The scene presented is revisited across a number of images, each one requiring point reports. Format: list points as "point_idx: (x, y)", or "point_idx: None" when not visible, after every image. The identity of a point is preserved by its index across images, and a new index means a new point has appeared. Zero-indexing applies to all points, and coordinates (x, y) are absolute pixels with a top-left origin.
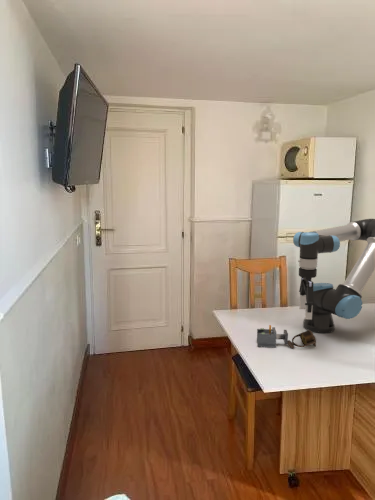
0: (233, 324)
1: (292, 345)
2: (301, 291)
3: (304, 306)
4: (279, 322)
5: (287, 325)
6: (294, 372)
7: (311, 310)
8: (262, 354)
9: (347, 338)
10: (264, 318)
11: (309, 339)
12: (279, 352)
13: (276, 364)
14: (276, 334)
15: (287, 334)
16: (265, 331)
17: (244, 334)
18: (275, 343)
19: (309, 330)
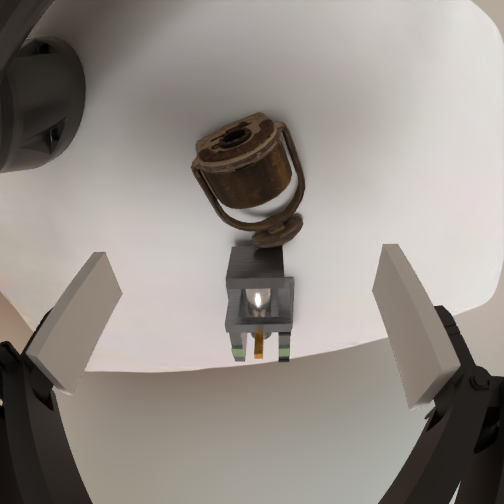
0: (132, 358)
1: (299, 229)
2: (67, 444)
3: (97, 279)
4: (47, 245)
5: (57, 220)
6: (465, 240)
7: (431, 315)
8: (347, 313)
9: None
10: (45, 285)
11: (286, 161)
12: (334, 269)
13: None
14: (261, 306)
15: (283, 277)
16: (242, 338)
17: (194, 346)
18: (288, 289)
19: (230, 166)
